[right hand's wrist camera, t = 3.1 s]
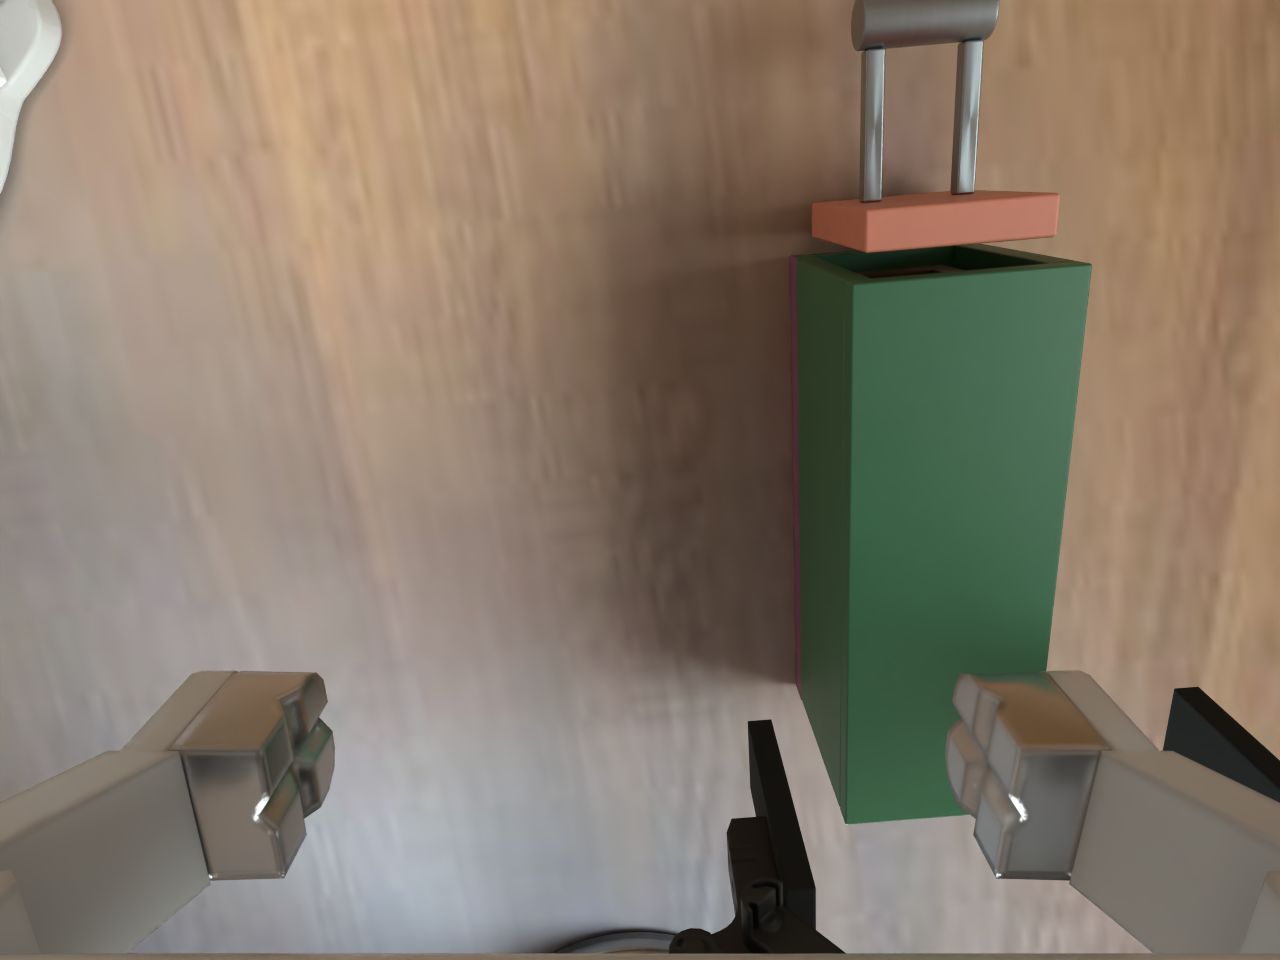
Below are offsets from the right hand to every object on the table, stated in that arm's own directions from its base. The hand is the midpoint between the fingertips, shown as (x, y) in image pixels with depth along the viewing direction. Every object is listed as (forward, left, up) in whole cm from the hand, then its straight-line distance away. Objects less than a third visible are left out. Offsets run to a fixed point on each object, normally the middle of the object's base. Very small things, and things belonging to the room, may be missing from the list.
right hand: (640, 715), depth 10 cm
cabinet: (+7, +9, -23) cm, 26 cm away
